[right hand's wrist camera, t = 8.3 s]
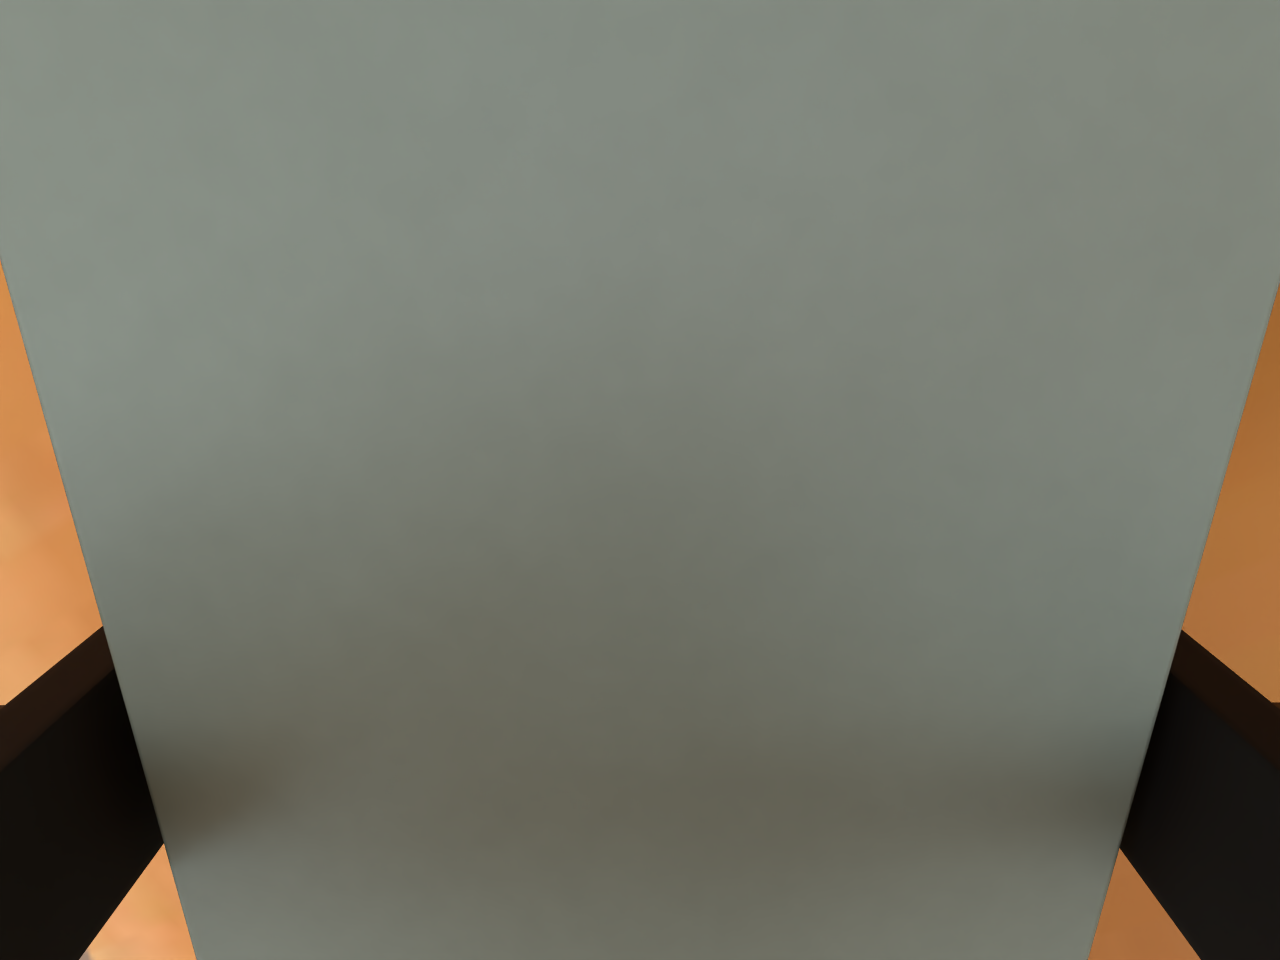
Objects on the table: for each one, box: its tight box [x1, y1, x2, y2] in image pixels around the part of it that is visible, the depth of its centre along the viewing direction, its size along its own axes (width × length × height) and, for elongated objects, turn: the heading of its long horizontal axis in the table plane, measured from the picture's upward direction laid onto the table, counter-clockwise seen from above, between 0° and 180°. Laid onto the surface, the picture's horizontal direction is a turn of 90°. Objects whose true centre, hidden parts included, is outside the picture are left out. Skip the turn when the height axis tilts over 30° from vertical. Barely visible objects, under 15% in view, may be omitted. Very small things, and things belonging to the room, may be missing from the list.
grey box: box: [0, 0, 1280, 960], centre depth 13 cm, size 13×12×11 cm
